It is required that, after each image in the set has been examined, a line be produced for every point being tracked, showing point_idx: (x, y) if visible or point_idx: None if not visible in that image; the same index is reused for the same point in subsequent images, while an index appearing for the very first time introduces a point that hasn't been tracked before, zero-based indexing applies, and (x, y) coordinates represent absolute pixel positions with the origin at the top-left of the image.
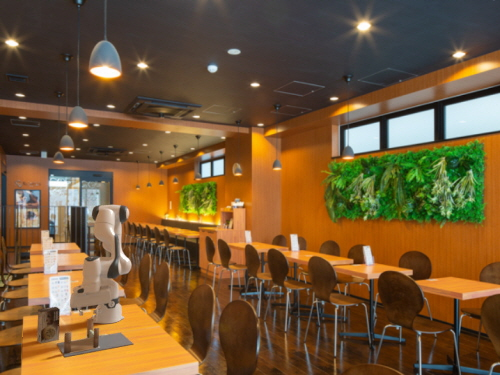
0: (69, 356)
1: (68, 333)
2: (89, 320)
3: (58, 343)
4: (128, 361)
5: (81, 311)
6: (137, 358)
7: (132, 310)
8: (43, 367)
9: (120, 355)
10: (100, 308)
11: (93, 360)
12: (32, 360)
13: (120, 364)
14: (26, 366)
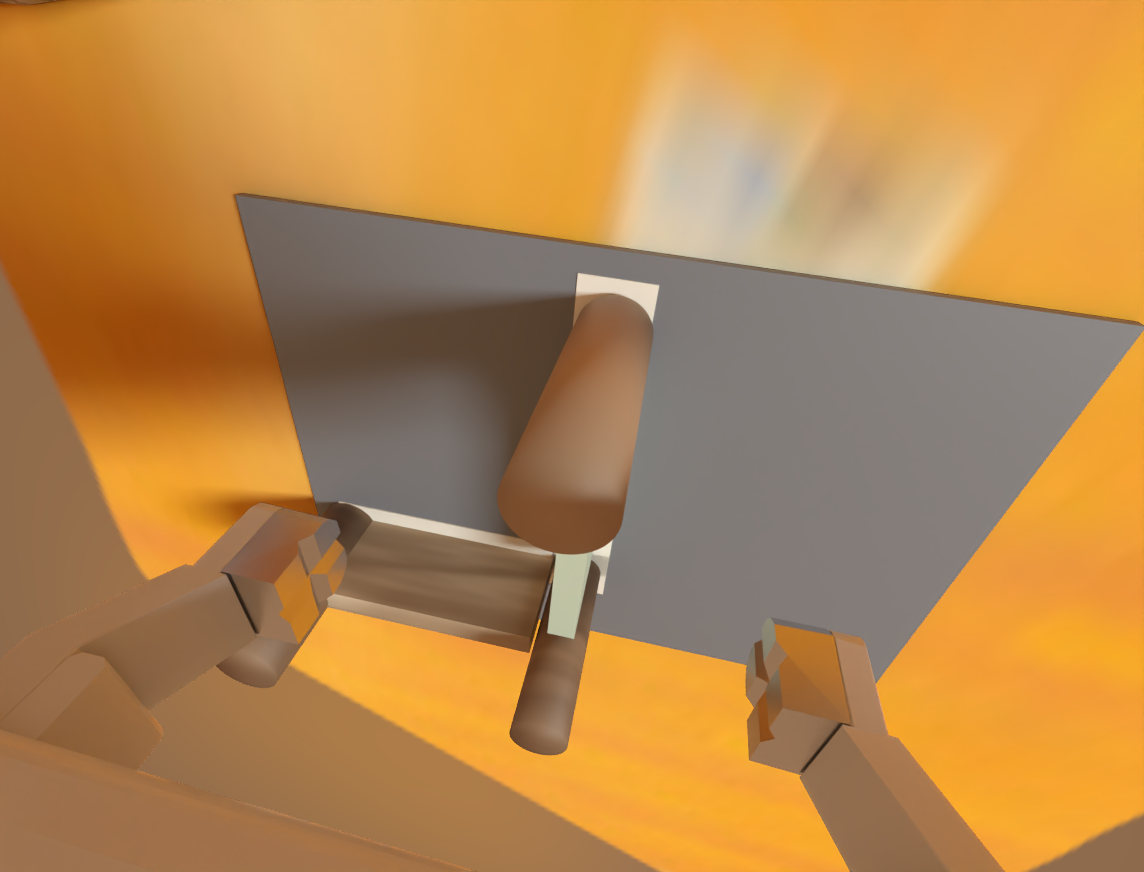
0: None
1: (249, 678)
2: (526, 537)
3: (254, 221)
4: (647, 799)
5: (249, 583)
6: (707, 807)
7: None
8: None
9: (657, 741)
10: (834, 764)
11: (494, 698)
12: (132, 480)
13: (596, 794)
14: (130, 542)
